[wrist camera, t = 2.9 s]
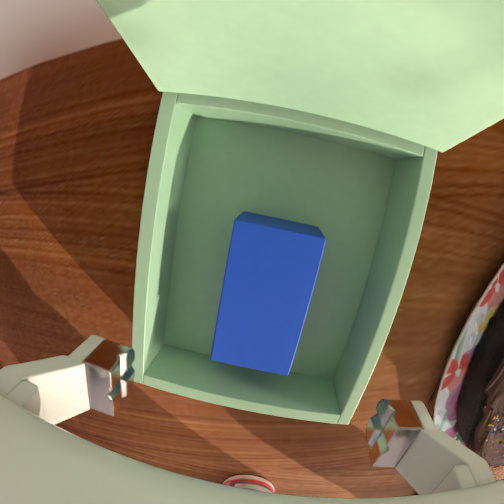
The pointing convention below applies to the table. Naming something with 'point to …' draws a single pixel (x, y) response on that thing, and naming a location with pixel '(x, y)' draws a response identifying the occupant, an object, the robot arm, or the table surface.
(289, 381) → the box
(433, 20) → the lunchbox lid
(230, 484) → the pill bottle
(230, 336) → the block
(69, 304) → the table surface
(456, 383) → the chocolate cake
